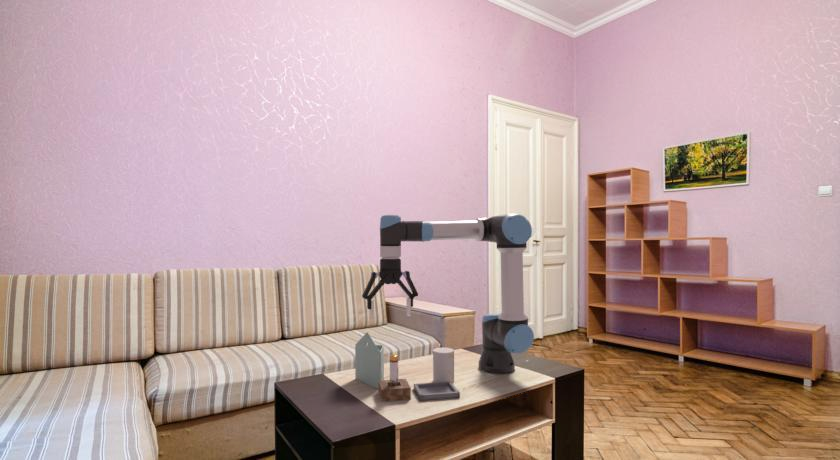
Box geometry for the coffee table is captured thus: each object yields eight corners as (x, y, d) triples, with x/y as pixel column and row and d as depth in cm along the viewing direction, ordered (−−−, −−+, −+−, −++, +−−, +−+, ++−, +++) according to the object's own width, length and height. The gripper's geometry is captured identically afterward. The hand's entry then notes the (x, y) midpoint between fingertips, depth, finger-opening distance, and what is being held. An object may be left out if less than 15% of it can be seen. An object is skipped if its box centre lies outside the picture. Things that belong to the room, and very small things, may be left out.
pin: (397, 393, 158) (397, 354, 158) (399, 396, 155) (398, 356, 155) (389, 394, 157) (389, 354, 157) (390, 397, 154) (390, 357, 154)
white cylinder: (452, 385, 166) (452, 353, 166) (431, 384, 168) (431, 352, 168) (455, 378, 174) (455, 348, 174) (435, 377, 176) (434, 347, 176)
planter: (396, 384, 167) (396, 332, 167) (379, 389, 162) (379, 335, 162) (371, 374, 179) (371, 326, 180) (354, 379, 174) (354, 328, 174)
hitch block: (405, 389, 162) (405, 378, 162) (410, 399, 152) (410, 387, 152) (378, 391, 160) (378, 380, 160) (381, 401, 150) (381, 389, 150)
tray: (450, 386, 165) (450, 381, 165) (459, 397, 154) (459, 392, 154) (413, 388, 162) (413, 383, 162) (420, 400, 151) (420, 395, 151)
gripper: (420, 257, 166) (420, 313, 166) (354, 258, 159) (354, 317, 158) (426, 258, 159) (426, 316, 159) (358, 259, 151) (357, 321, 151)
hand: (390, 317), depth 159 cm, fingers open, 13 cm apart
